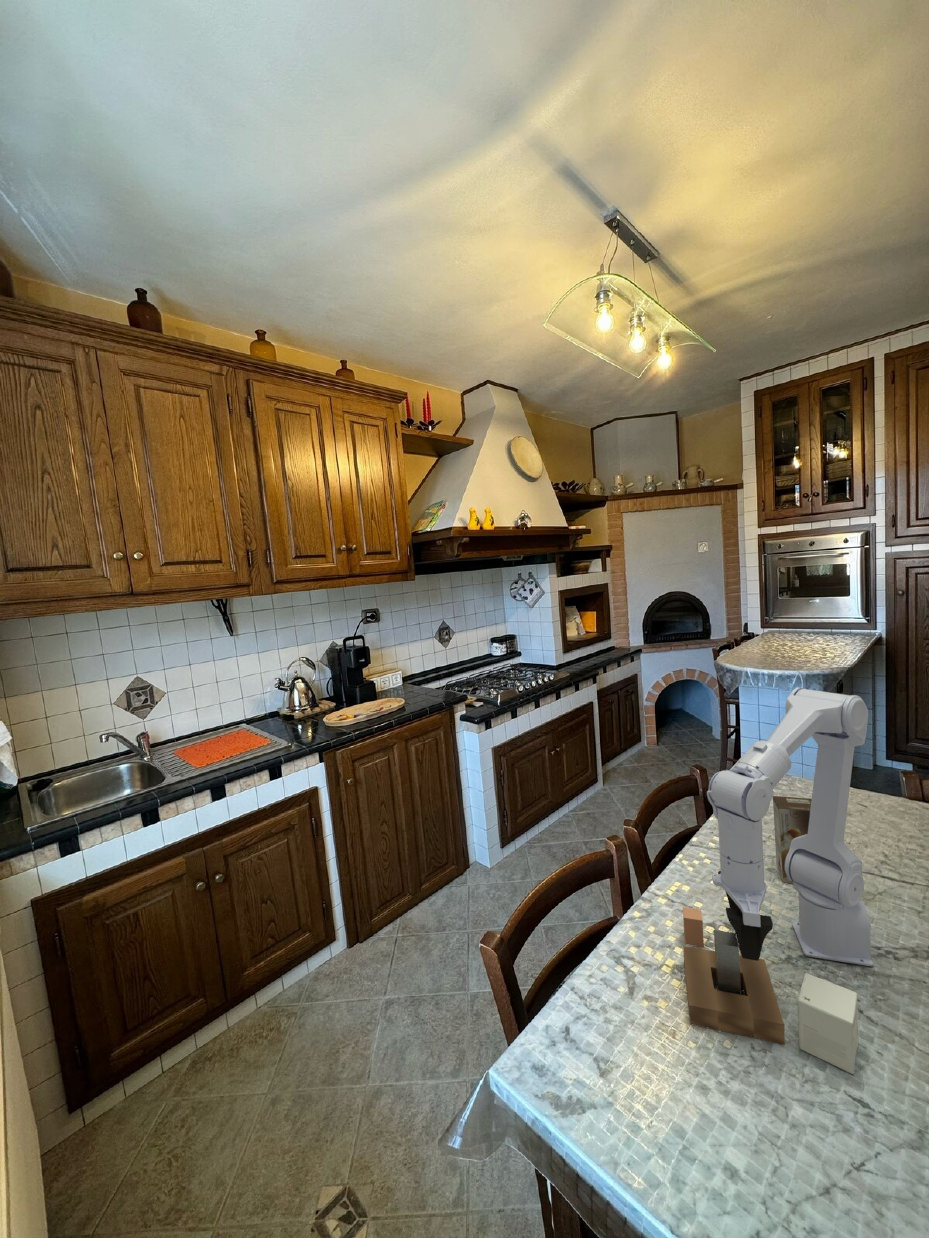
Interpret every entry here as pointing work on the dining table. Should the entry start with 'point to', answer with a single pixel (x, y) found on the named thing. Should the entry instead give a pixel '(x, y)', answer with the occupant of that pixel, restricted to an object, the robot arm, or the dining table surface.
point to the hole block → (732, 998)
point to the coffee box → (789, 826)
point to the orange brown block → (693, 926)
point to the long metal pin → (727, 962)
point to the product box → (828, 1022)
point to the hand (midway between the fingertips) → (745, 938)
